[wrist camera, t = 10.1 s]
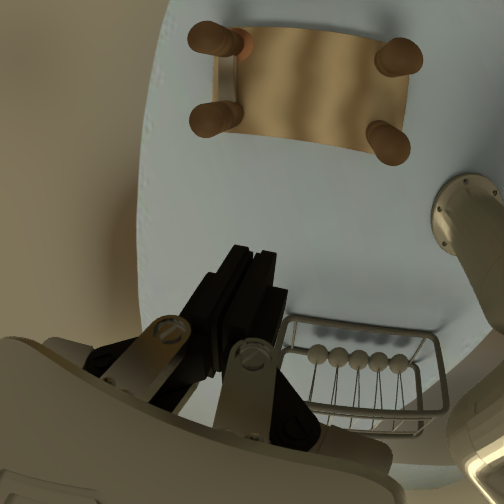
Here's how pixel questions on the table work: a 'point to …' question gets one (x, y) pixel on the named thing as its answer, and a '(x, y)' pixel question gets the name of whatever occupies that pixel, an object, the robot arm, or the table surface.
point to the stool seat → (325, 88)
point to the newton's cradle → (376, 364)
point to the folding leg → (227, 108)
